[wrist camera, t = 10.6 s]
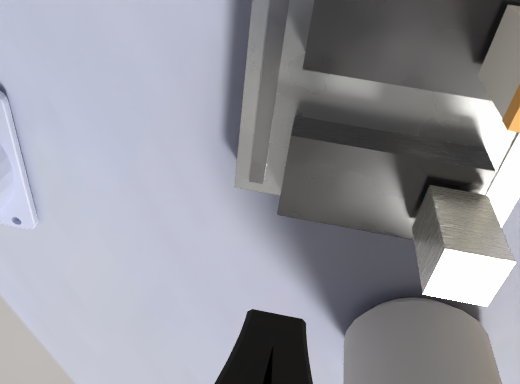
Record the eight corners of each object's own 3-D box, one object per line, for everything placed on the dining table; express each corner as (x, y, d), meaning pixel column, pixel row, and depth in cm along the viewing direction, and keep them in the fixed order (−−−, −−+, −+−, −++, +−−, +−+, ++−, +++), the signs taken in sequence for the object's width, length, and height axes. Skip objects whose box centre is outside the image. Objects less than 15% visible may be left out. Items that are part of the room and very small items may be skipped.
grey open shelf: (241, 167, 21) (205, 273, 15) (297, -386, 11) (251, -600, 6) (488, 212, 20) (536, 338, 15) (783, -333, 10) (1230, -522, 5)
